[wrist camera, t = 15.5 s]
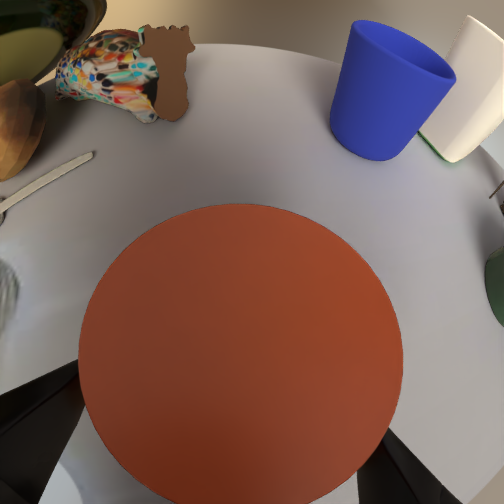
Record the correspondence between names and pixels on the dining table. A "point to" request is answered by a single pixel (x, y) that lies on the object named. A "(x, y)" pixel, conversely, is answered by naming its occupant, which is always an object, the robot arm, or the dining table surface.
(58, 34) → the plate
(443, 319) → the dining table surface
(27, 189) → the thin beige stick
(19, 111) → the potato
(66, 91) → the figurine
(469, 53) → the cup
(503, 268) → the tin
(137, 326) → the top tin
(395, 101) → the mug
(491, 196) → the wizard figurine
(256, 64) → the dining table surface
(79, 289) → the dining table surface
